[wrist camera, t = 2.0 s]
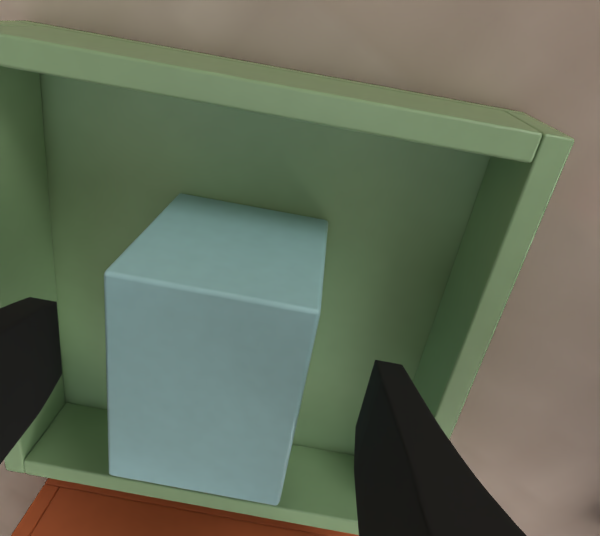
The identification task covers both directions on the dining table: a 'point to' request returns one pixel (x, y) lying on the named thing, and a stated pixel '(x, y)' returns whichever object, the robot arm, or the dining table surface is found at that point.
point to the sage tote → (268, 195)
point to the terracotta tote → (140, 516)
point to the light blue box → (212, 346)
